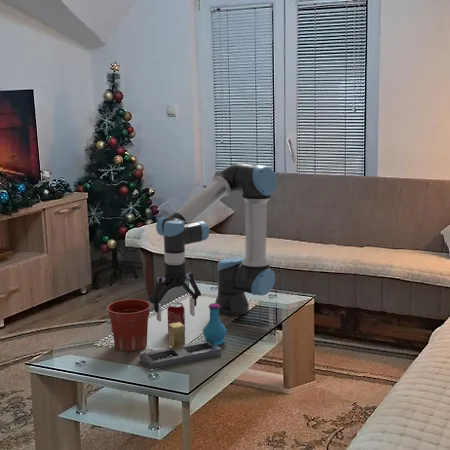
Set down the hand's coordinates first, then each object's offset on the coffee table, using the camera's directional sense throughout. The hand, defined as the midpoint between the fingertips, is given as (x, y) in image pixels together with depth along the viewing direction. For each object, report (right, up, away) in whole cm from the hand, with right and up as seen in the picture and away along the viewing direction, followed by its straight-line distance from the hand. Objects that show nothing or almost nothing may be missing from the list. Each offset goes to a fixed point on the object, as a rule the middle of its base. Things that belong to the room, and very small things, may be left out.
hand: (175, 317), depth 264 cm
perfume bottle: (+15, -11, +8) cm, 20 cm away
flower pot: (-18, -12, +5) cm, 22 cm away
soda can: (-1, -9, +18) cm, 20 cm away
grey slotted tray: (+2, -14, -7) cm, 16 cm away
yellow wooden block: (0, -12, +3) cm, 12 cm away
